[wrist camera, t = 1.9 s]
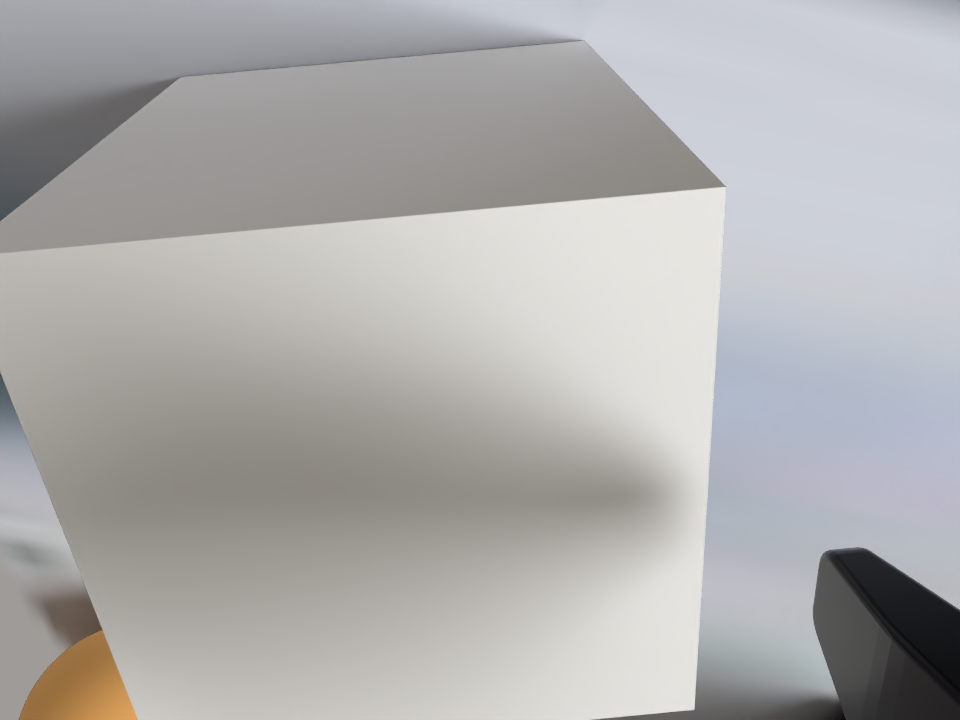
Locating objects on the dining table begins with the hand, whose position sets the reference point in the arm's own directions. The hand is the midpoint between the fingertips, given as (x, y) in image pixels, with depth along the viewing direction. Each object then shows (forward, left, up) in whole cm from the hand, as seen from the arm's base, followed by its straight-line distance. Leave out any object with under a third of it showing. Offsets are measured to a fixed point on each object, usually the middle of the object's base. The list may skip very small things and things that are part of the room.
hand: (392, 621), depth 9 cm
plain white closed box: (0, 0, -10) cm, 10 cm away
